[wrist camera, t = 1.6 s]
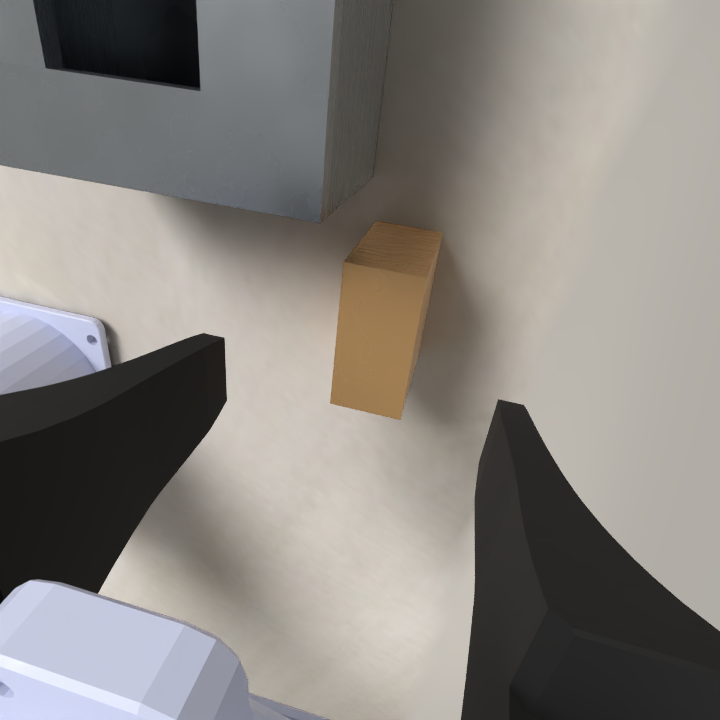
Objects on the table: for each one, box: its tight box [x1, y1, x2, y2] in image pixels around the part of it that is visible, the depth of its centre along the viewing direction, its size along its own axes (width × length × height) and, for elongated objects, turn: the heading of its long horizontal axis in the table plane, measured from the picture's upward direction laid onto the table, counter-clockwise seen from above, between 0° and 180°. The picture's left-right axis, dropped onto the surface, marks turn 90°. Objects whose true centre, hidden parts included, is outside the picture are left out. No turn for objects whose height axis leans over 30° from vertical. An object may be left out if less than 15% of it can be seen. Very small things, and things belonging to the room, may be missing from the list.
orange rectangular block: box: [330, 221, 443, 420], centre depth 18 cm, size 5×2×4 cm, turn 174°
